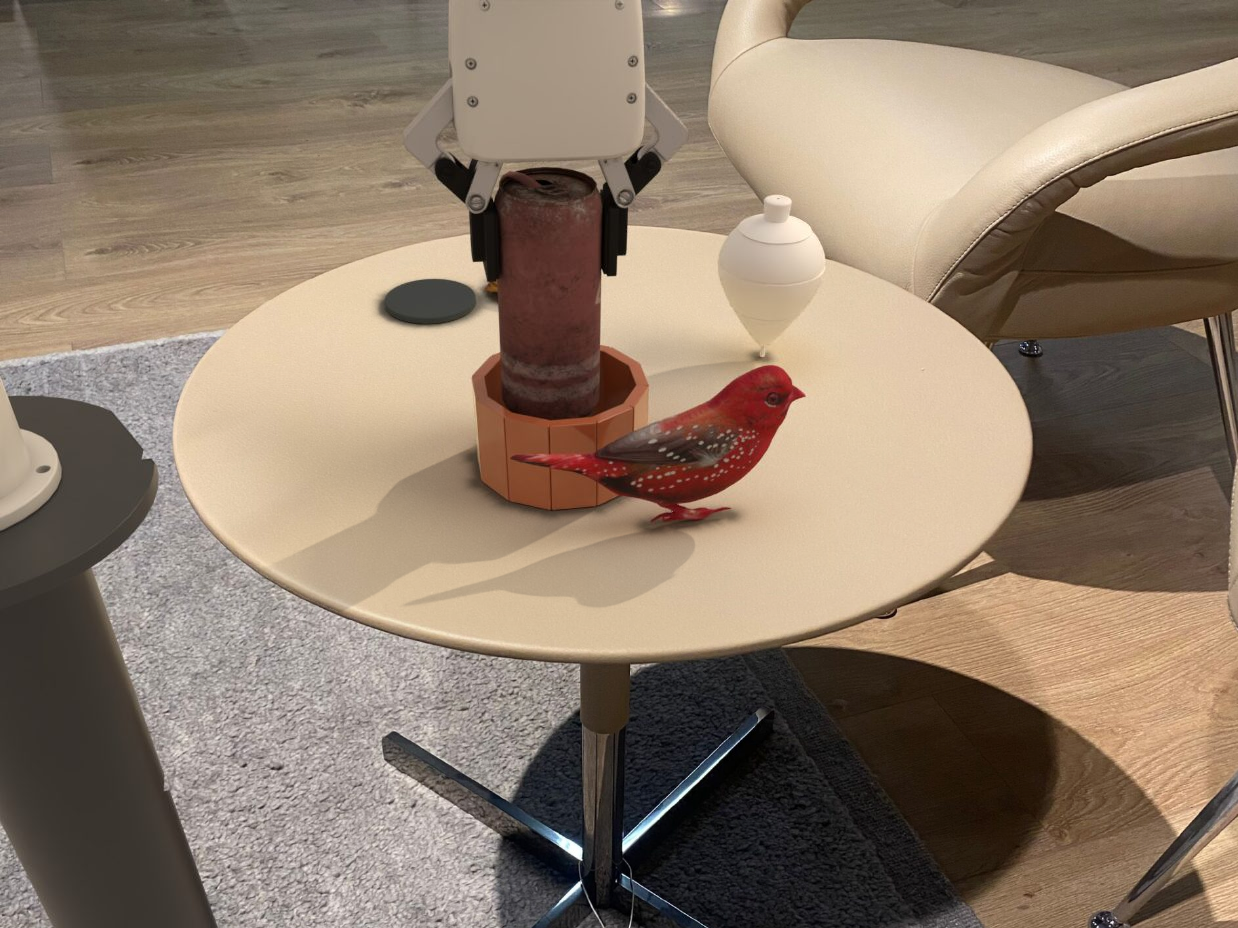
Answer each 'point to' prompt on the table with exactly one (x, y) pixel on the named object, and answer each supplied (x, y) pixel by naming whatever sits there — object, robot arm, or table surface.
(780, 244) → the spinning top
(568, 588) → the table surface
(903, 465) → the table surface
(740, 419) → the decorative bird figurine
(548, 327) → the can
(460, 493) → the table surface
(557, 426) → the pot
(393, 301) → the coaster
